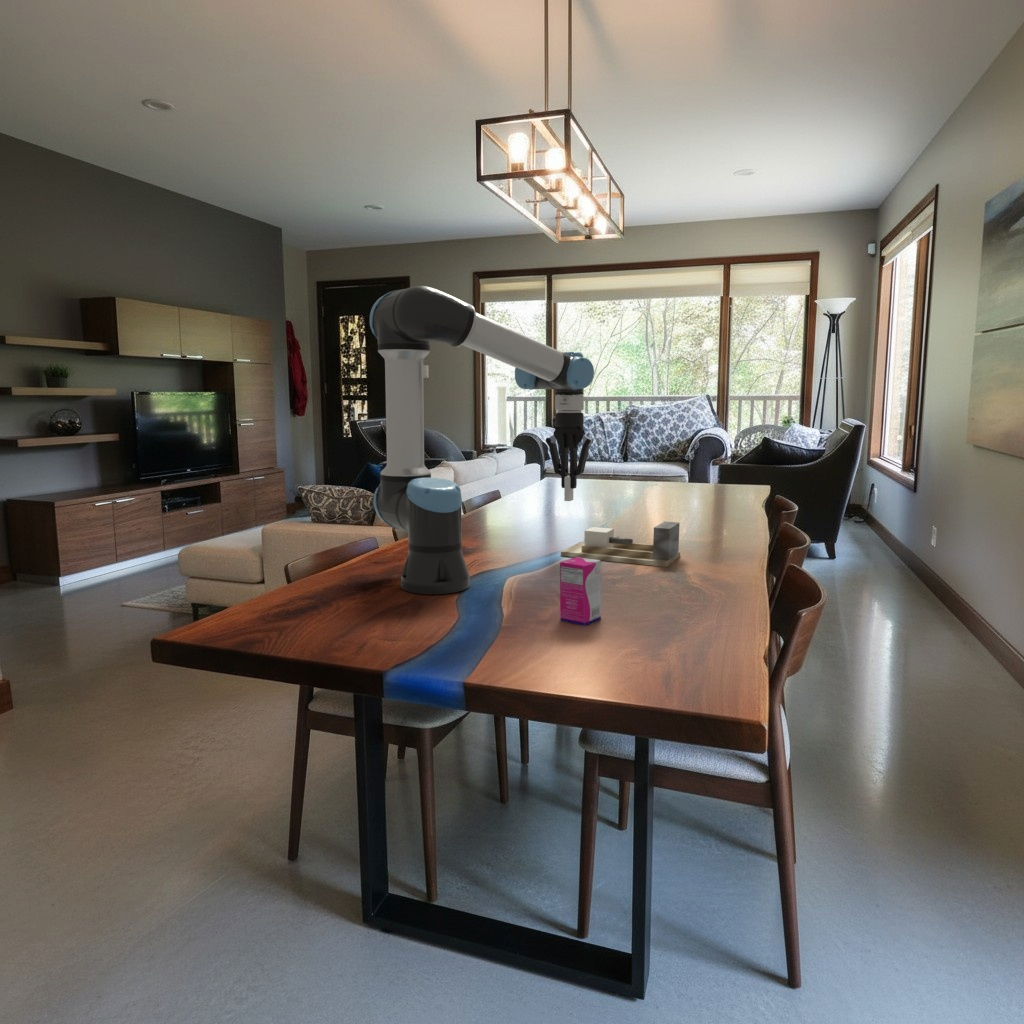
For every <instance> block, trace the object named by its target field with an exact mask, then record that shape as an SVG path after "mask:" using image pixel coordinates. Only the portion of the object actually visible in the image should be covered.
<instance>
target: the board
mask: <svg viewBox="0 0 1024 1024" xmlns="http://www.w3.org/2000/svg"><path fill="white" fill-rule="evenodd" d="M679 542H680V522H675V521H674V522H673V521H662V522H660V523H659V524H657V525H655V526H654V527H653V542H652V544H651V543H642V542H641V543H639V542H633V544H632V545H625V544H615V543H613V548H607V547H597V546H586V545H584V541H583V542H582V541H580V542H578V543H575V544H574V545H572V546H569V547H567V548H566V549H563V550H561V551H560V557H566V556H569V557H568V558H575V557H580V558H587V559H595V560H600V561H605V562H614V563H626V564H633V565H635V564H636V565H645V566H651V567H652V566H654V567H662V568H664V567H665V568H667V567H668V566H670V565H671V564H672V563H673V562H675V561H676V560H677V559H678V558H680V557H681V551H680V550H679V548H680V546H679V544H680V543H679Z"/></svg>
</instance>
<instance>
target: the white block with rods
mask: <svg viewBox="0 0 1024 1024" xmlns="http://www.w3.org/2000/svg"><path fill="white" fill-rule="evenodd" d="M614 531H615V530H614V528H607V527H595V526H592V527H589V528H587V529H586V530H584V538H583V539H584V541H583V542H584V545H586V546H597V547H607V548H613V543H615V544H625V545H632V544H633V543H634V539H633V538H627V537H625V538H624V537H621V538H620V536H614V534H615V532H614Z"/></svg>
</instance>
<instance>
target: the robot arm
mask: <svg viewBox="0 0 1024 1024" xmlns="http://www.w3.org/2000/svg"><path fill="white" fill-rule="evenodd" d="M369 327H370V329H371V333H372V334H373V335H374V337H375V339H377V352H378V353H379V354H380V356H381V357H382V358H383V359H384V369H385V370H384V373H385V374H384V375H385V376H384V379H385V381H384V382H385V425H386V426H385V427H386V430H385V432H386V433H385V434H386V436H385V437H386V465H385V467H384V468H383V469H382V470H381V471H380V476H379V477H380V483H379V484H378V486H377V487H376V489H375V491H374V494H373V500H372V501H373V502H372V503H373V508H374V511H375V513H376V515H377V517H378V518H379V520H381V522H383V523H384V524H386V525H388V526H389V527H390V528H392V529H396V530H400V531H403V532H407V534H408V535H407V542H408V554H407V557H406V560H405V563H404V566H403V569H402V572H401V573H402V574H401V577H400V588H401V589H402V590H404V591H406V592H409V593H412V594H413V593H414V594H419V595H444V594H445V595H446V594H453V593H454V594H455V593H459V592H462V591H464V590H466V589H468V588H469V587H470V586H471V577H470V576H471V575H470V572H469V569H468V566H467V563H466V561H465V557H464V554H463V552H462V551H463V550H462V547H463V546H462V544H463V543H462V541H463V540H462V538H463V537H462V531H463V529H462V527H463V526H462V524H463V523H462V505H463V499H462V490H461V488H460V486H459V484H458V483H456V482H455V481H452V480H450V479H447V478H438V477H432V472H431V470H429V469H428V468H427V466H426V465H425V430H424V429H425V418H424V417H425V413H424V412H425V411H424V409H425V408H424V406H425V404H424V399H425V398H424V360H425V358H427V356H428V355H429V354H430V352H431V349H430V348H431V346H430V345H431V342H437V343H441V344H442V343H443V344H446V345H449V346H451V347H453V348H459V347H462V346H463V347H466V348H468V349H471V350H473V351H475V352H478V353H479V354H480V353H481V354H483V355H485V356H487V357H490V358H492V359H495V360H497V361H500V362H501V363H503V364H506V365H508V366H511V367H513V368H515V369H514V380H515V383H516V385H517V386H518V387H519V388H520V389H523V390H529V391H531V390H554V410H555V411H557V412H555V414H554V431H553V434H552V435H551V436H549V437H546V438H545V442H546V444H547V446H548V449H549V453H550V457H551V462H552V466H553V470H554V471H553V472H554V473H555V474H558V475H559V476H560V477H561V480H560V481H561V483H560V486H561V488H562V489H563V490H564V492H563V493H564V498H563V501H564V502H572V501H574V489H577V483H578V481H577V479H578V478H577V477H578V476H579V475H581V474H583V473H584V472H585V468H586V464H587V460H588V454H589V451H590V447H591V446H592V444H593V443H594V439H593V438H591V437H589V436H587V435H586V432H585V430H584V420H585V419H584V418H585V417H584V416H585V415H584V413H583V412H582V411H583V410H584V409H585V407H584V406H585V405H584V404H585V399H584V397H585V396H584V391H585V390H584V389H585V388H588V387H589V386H590V385H591V384H592V382H593V380H594V375H595V369H594V365H593V363H592V362H591V360H590V359H589V358H587V357H584V354H583V353H582V352H580V351H560V350H557V349H555V348H553V347H551V346H549V345H547V344H545V343H544V342H543V343H542V342H540V341H538V340H536V339H534V338H532V337H529V336H527V335H525V334H523V333H521V332H519V331H517V330H514V329H512V328H510V327H508V326H505V325H504V324H501V323H500V322H497V321H495V320H493V319H491V318H489V317H487V316H485V315H482V314H480V313H478V312H476V309H475V307H474V306H473V304H470V303H469V302H466V301H463V300H462V299H459V298H457V297H455V296H454V295H451V294H449V293H446V292H445V291H441V290H439V289H437V288H435V287H431V286H425V285H415V286H411V287H407V288H403V289H397V290H392V291H389V292H387V293H385V294H384V295H382V296H381V297H379V298H378V299H377V300H376V301H375V302H374V304H373V305H372V307H371V310H370V313H369ZM581 442H582V443H581ZM557 443H558V444H559V450H560V454H559V451H558V446H557ZM580 443H581V444H582V446H581V451H580V454H579V459H578V452H579V451H578V450H579V445H580Z"/></svg>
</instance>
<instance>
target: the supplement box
mask: <svg viewBox="0 0 1024 1024" xmlns="http://www.w3.org/2000/svg"><path fill="white" fill-rule="evenodd" d="M601 562H602V560H595V559H587V558H580V557H571V558H570V559H566V560H564V561H560V562H559V601H560V602H559V604H560V605H559V610H560V611H559V612H560V613H559V614H560V619H559V620H560V621H562V622H566V623H570V624H573V625H574V624H575V625H578V626H582V627H585V626H588V625H591V624H592V623H595V622H598V621H600V620H601V619H602V588H601V587H602V583H601V582H602V578H601V577H602V576H601V574H602V572H601V571H602V568H601V567H602V566H601V565H602V563H601Z"/></svg>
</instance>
